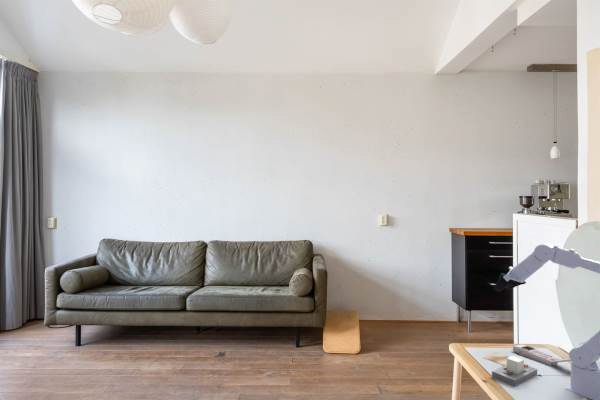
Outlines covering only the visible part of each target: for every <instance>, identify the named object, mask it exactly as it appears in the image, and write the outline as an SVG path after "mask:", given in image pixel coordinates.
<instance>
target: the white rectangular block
mask: <svg viewBox="0 0 600 400" xmlns="http://www.w3.org/2000/svg"><path fill="white" fill-rule="evenodd" d="M508 357H509V358H507V368H506V370H507V371H509V372H512V373H515V374H517V375H521V374H523V370H524V363H525V359H523V358H520V357H517V356H513V355H511V356H508Z"/></svg>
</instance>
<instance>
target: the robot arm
mask: <svg viewBox="0 0 600 400" xmlns="http://www.w3.org/2000/svg"><path fill="white" fill-rule="evenodd" d="M549 261H550V262H552V263H553V264H557V265H560V266H563V267H566V268H571V269H576V268H581V269H585V270H588V271H591V272H594V273H597V274H599V275H600V261H596V260H593V259H589V258H584V257H582V255H581V254H580V253H579V252H576V250H575V249H573V248H571V249H566V248H562V247H559V245H557V244H555V245H553V244H551V243H542V244H539V245H536V246H535V248H534V250H533V251H532V252H531V253H529V254H528V255H527V256H526V257H524V258H523V259H522V260H521V261H520V262H518V264H516V265H515V266H514V267H513V266H509V267H508V270H509V271H508V272H507V273H505V272H503V273H502V272H501V273H500V275H499V276H498V280H497V282H496V283H495V285H494V286H493V290H494V291H495V292H496V293H499V292H502V291H503V290H504V289H505V290H506V291H510V290H512V289H514V288H516V287H519V286H522V285H525V284H527V282H526V280H528V279H529V278H530V277H531V276H532V275H534V274H535V273H536V272H537V271H538V270H540V269H541V268H542V267H543V266H544V265H546V263H547V262H549ZM568 358H570V360H571V361H570V385H567V386H566V387H565V388H564V389H565V390H567V391H569V392H572V393H576V394H578V395H581V396H583V397H585V398H587V399H589V400H600V369H599V366H598V364H597V362H596V361H598V360H599V359H600V330H598V331H597V332H596V333H595V334H594V335H592V337H590V338H589V339H588V340H587V341H584V342H581V343H579V344H578V345H577V346H576V347H573V348H572V349H571V350H569V352H568Z"/></svg>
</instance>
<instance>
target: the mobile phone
mask: <svg viewBox="0 0 600 400" xmlns="http://www.w3.org/2000/svg"><path fill="white" fill-rule="evenodd" d="M512 351H513V352H515V353H516V354H518V355H519V356H523V357H525V358H528V359H530V360H533V361H535V362H538V363H541V364H543V365H545V366H548V367H552V366H555V365H557V364H558V363H562V362H563V363H564V362H571V360H570V358H569V357H568V358H558V357H555V356H552V355H550V354H547V353H545V352H543V351H540V350H537V349H536V348H535V347H532V346H529V345H526V344H517V345H513V346H512Z"/></svg>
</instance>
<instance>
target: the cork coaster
mask: <svg viewBox="0 0 600 400" xmlns="http://www.w3.org/2000/svg"><path fill="white" fill-rule="evenodd" d="M509 357H510V356H507V355H506V354H502V353H499V352H496V351H495V352H493V353H491V354H488V355H486V356H483V359H484V360H485V359H486V360H488V361H491V362H494V363H496V364H498V365H499V364H500V365H501V366H505V365H507V358H509Z"/></svg>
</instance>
